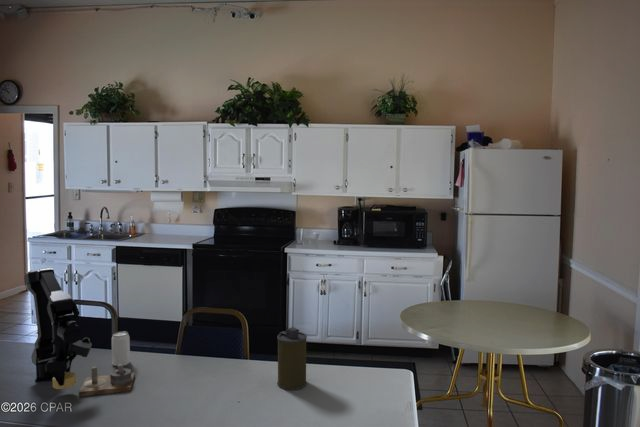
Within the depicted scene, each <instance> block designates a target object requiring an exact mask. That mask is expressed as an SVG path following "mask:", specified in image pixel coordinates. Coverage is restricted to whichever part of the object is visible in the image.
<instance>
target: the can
mask: <svg viewBox="0 0 640 427" xmlns="http://www.w3.org/2000/svg"><path fill="white" fill-rule="evenodd" d="M130 340H131V338H130V335H129V332H128V331H126V330H123V331H116V332H114V333H113V334H112V337H111V363H112V366H114V367H118V365H120V364H123V366H127V365H129V364H130V362H131V345H130Z"/></svg>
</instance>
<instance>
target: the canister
mask: <svg viewBox="0 0 640 427" xmlns="http://www.w3.org/2000/svg"><path fill="white" fill-rule="evenodd" d="M307 338H308V336H307V334H306V333H304V332H302V331H300V329H298V328H296V327H295V326H291V327H289V328H286V330H283V331H280V332H279V333H278V335H277V337H276V339H277V383H276V384H277V387H279V389H282V390H286V391H298V390H301V389H303V388H305V387H306V386H307V385H308V384H307V383H308V382H307Z"/></svg>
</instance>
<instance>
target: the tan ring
mask: <svg viewBox="0 0 640 427" xmlns="http://www.w3.org/2000/svg"><path fill="white" fill-rule="evenodd" d="M76 376H77V373H76V372H72V371H70V372H65V380H64V385H63V386H60V385H59V384H58V382H57V381H56V379H55V378H54V377H53V379H52V380H51V381H52V388H54V389H56V390H65V389H69V388H71V387H73V386H75V384H76V383H77V377H76Z"/></svg>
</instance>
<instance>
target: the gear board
mask: <svg viewBox="0 0 640 427" xmlns="http://www.w3.org/2000/svg"><path fill="white" fill-rule="evenodd" d="M135 375H136V373H135V372H132V369H130V368H124V366H123V364H120V365H118V366H117V368H116V369H114V370H113V371H111V372H110V374H106V375H105V374H104V375H98V367H97V366H93V367H91V376H87V377H85V380H84V381H83V384H82V386H80V389H79V391H78V397H86V396H87V397H88V396H95V394H97V395H103V394H104V393H106V394H113V393H114V392H116V393H123V392H124V393H125V392H131V390H132V388H133V384H134V380H135ZM114 394H115V393H114Z"/></svg>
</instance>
